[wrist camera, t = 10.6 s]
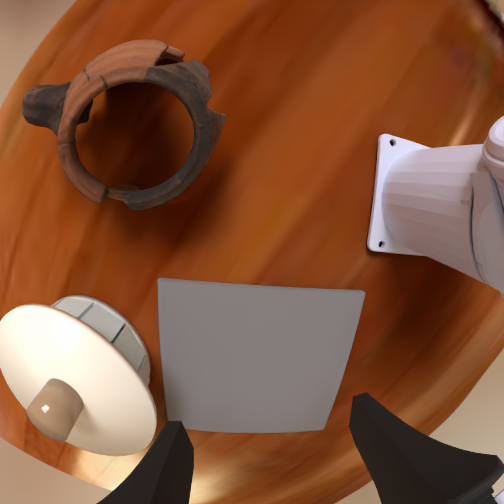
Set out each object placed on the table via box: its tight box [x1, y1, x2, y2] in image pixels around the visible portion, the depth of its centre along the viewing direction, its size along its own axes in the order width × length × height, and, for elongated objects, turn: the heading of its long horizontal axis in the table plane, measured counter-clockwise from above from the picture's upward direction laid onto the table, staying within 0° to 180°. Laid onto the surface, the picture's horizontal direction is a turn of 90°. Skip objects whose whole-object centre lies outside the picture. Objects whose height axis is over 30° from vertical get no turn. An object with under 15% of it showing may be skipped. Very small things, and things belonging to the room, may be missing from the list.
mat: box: [158, 278, 365, 433], centre depth 20 cm, size 14×14×1 cm
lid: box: [0, 303, 157, 456], centre depth 12 cm, size 13×13×4 cm
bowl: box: [51, 295, 151, 387], centre depth 17 cm, size 10×10×5 cm
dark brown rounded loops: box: [22, 40, 226, 211], centre depth 13 cm, size 12×10×8 cm
